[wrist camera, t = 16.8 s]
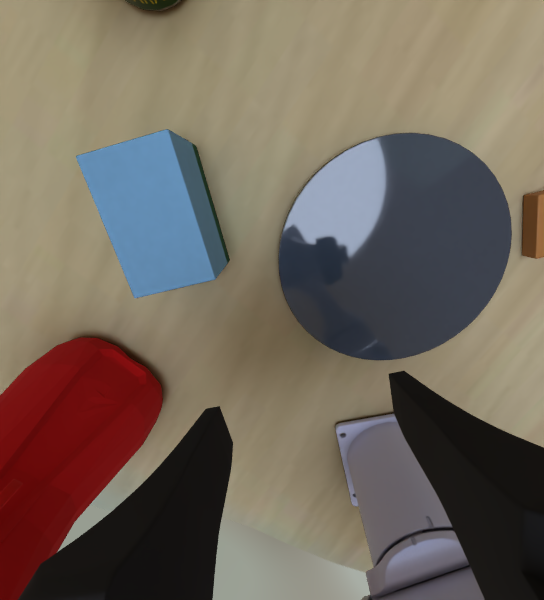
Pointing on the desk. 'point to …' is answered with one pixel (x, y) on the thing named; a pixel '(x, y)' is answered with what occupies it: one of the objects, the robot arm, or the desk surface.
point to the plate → (394, 246)
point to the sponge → (157, 211)
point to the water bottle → (65, 446)
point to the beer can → (154, 4)
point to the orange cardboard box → (533, 225)
